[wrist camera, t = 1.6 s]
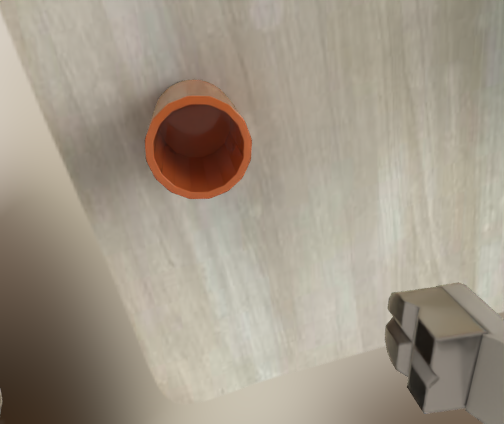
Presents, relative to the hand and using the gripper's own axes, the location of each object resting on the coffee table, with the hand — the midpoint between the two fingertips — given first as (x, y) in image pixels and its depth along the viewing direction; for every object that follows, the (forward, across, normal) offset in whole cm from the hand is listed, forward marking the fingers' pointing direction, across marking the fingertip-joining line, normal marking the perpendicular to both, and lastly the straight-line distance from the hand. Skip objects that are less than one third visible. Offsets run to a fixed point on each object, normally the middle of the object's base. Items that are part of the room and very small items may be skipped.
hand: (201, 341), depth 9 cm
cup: (+20, 0, 0) cm, 20 cm away
